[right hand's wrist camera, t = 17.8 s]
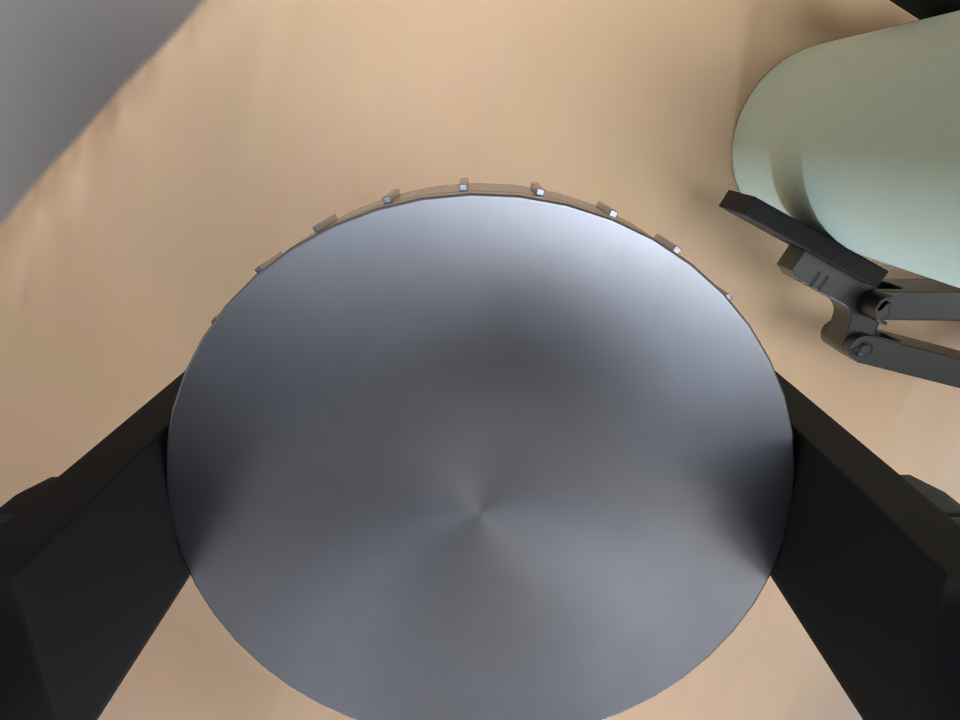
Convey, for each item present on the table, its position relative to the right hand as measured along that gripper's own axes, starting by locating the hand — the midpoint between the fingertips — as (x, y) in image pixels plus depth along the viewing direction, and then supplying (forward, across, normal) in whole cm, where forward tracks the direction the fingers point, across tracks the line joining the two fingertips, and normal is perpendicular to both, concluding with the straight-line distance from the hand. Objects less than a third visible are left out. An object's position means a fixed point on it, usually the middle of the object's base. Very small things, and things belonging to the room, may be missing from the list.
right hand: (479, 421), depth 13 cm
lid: (-3, 0, 0) cm, 3 cm away
